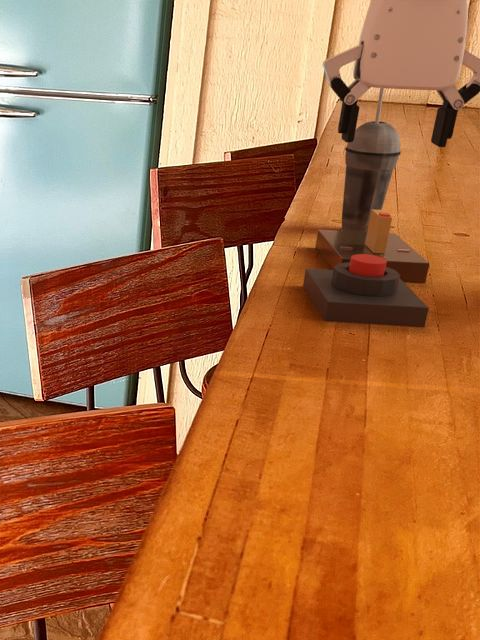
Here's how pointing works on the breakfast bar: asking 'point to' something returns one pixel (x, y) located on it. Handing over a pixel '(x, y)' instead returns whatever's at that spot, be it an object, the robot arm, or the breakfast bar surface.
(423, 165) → the breakfast bar surface
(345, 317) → the dark grey button base
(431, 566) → the breakfast bar surface
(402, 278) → the plate
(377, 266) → the bell button
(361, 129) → the beverage cup
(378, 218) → the lock turn
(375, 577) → the breakfast bar surface
